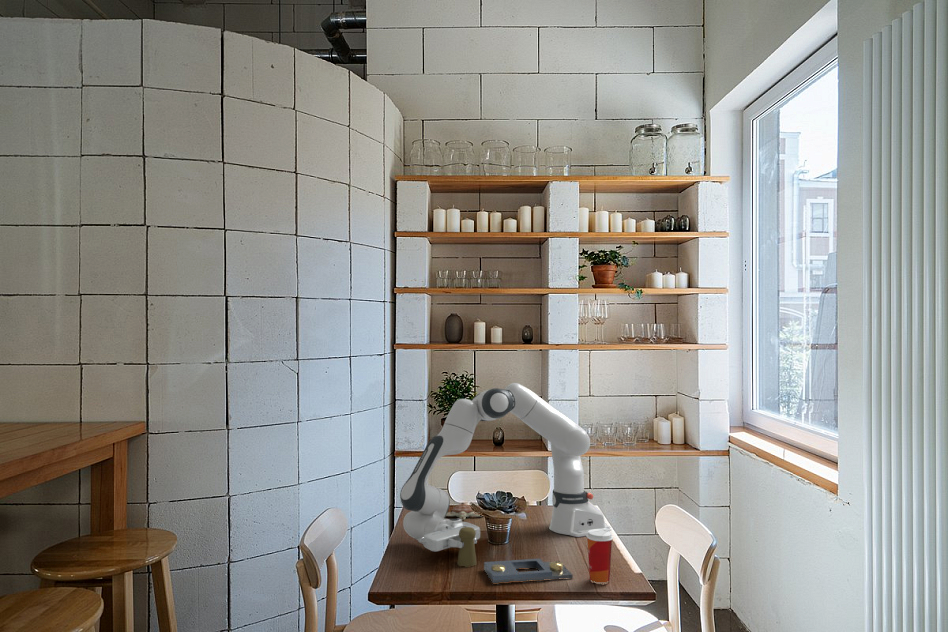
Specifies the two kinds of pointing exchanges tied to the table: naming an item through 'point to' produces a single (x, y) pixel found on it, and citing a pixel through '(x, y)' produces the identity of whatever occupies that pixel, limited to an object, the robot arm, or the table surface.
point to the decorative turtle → (462, 511)
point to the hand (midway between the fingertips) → (469, 543)
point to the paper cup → (599, 554)
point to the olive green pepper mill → (467, 547)
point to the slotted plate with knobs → (508, 572)
